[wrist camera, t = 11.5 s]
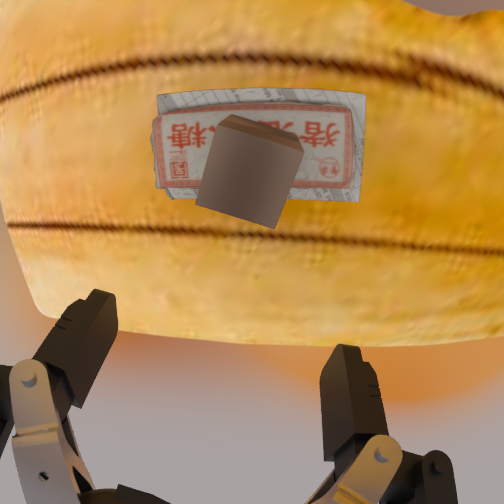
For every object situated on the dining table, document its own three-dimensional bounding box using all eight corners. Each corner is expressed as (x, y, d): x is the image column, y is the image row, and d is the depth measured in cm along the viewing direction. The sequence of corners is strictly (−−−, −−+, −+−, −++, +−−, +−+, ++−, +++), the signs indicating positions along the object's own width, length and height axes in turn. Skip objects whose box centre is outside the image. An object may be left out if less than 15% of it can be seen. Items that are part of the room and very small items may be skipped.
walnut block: (296, 135, 22) (304, 152, 17) (274, 194, 24) (274, 229, 19) (231, 113, 21) (217, 124, 16) (212, 175, 24) (195, 204, 19)
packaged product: (153, 214, 26) (139, 97, 21) (170, 194, 30) (160, 94, 25) (369, 218, 25) (380, 95, 19) (356, 197, 29) (363, 93, 24)
